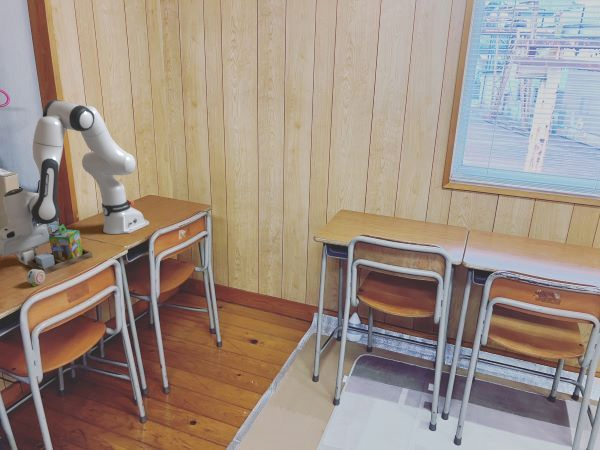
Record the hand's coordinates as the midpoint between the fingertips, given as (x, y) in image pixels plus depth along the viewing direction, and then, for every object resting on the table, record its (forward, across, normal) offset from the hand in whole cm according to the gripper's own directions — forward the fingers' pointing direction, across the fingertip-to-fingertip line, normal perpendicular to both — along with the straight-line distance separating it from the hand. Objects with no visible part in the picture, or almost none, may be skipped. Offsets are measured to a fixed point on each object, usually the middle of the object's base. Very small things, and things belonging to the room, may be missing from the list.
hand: (27, 258), depth 210 cm
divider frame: (+2, -8, +10) cm, 14 cm away
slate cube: (+2, -2, +10) cm, 11 cm away
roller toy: (+2, +8, +23) cm, 24 cm away
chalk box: (+2, -12, +10) cm, 16 cm away
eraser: (+2, 0, 0) cm, 2 cm away
